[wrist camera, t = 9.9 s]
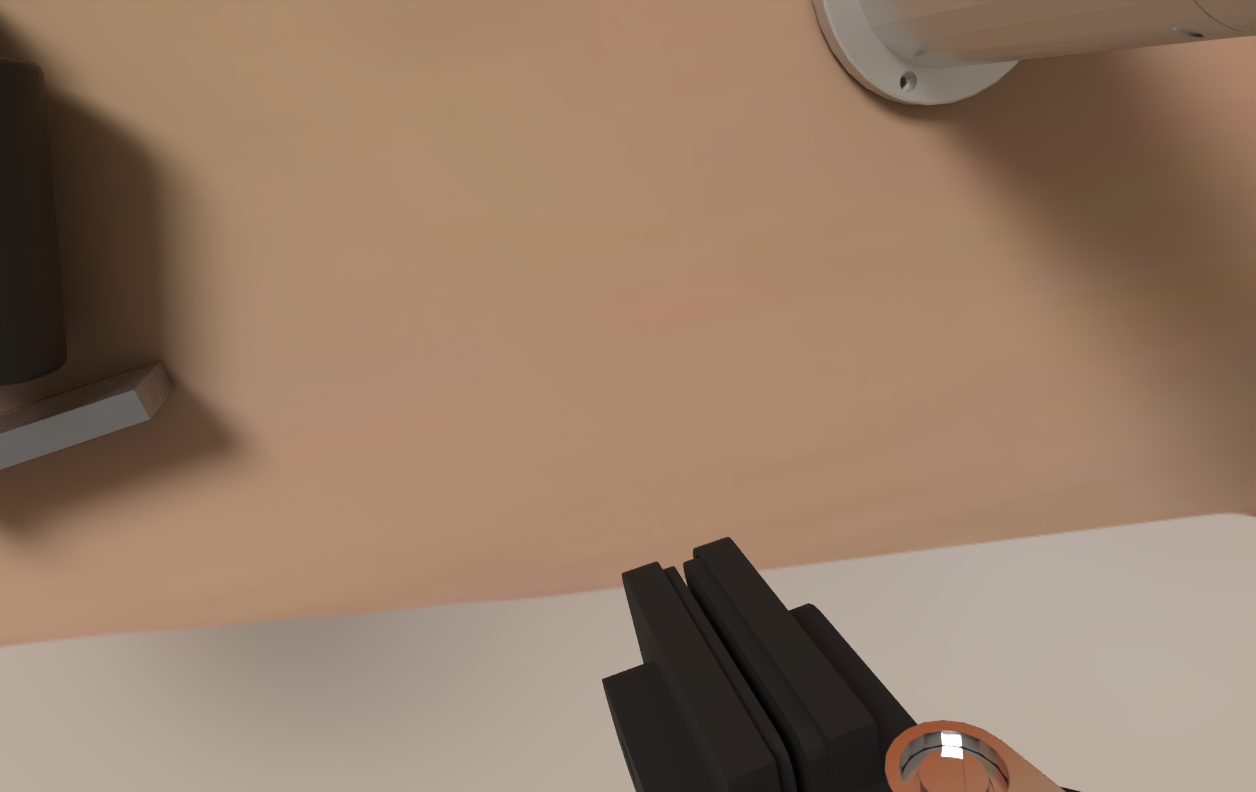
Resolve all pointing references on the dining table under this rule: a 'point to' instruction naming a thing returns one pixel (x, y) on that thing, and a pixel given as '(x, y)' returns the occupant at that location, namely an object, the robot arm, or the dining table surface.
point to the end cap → (27, 232)
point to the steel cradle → (82, 414)
